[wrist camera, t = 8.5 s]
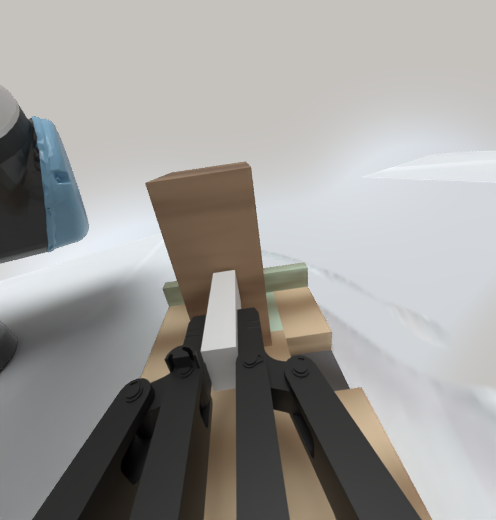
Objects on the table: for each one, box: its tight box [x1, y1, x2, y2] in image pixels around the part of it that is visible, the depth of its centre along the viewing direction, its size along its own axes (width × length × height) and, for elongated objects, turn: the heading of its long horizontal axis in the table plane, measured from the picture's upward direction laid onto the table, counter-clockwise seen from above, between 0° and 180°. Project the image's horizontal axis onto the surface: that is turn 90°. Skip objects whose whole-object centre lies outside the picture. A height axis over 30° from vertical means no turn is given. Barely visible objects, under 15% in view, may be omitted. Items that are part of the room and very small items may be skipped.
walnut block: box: [146, 162, 272, 347], centre depth 18 cm, size 6×6×14 cm
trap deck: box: [141, 263, 432, 520], centre depth 15 cm, size 25×16×5 cm, turn 4°
